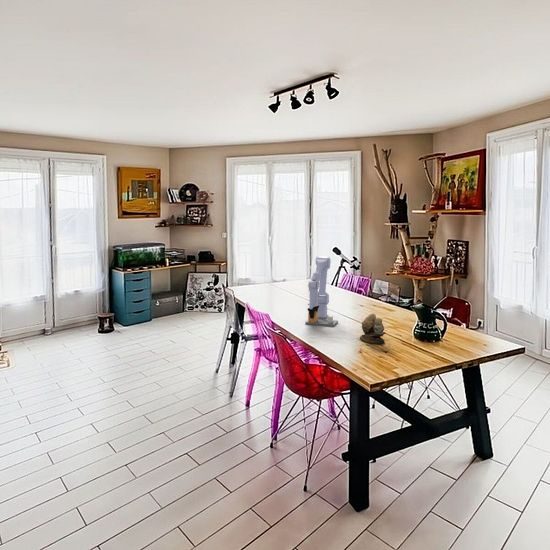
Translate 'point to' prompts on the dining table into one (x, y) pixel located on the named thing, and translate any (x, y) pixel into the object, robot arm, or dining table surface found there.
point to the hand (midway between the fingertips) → (313, 317)
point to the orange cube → (314, 317)
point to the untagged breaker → (330, 319)
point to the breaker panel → (322, 322)
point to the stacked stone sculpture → (372, 330)
